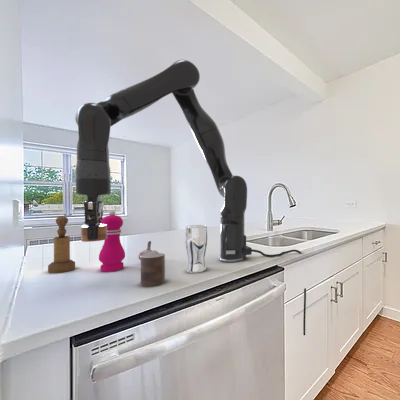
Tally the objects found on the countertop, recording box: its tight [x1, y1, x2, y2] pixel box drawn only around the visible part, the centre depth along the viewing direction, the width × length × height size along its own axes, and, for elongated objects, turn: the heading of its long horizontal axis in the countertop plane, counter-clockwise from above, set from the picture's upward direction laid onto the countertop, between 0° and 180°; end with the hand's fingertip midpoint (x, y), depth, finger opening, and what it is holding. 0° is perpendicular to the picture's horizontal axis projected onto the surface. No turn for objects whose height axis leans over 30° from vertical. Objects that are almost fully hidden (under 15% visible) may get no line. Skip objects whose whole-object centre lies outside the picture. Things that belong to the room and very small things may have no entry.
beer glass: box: [184, 224, 208, 274], centre depth 85 cm, size 7×7×15 cm
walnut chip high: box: [140, 252, 166, 273], centre depth 73 cm, size 6×6×4 cm
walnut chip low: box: [140, 268, 166, 288], centre depth 73 cm, size 6×6×4 cm
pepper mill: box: [98, 210, 126, 273], centre depth 86 cm, size 7×7×20 cm
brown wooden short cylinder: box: [80, 225, 107, 243], centre depth 71 cm, size 6×6×4 cm
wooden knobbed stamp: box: [47, 215, 76, 274], centre depth 84 cm, size 7×6×18 cm
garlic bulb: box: [138, 240, 159, 262], centre depth 95 cm, size 8×7×8 cm
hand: (94, 237), depth 71 cm, fingers closed on brown wooden short cylinder, 5 cm apart
